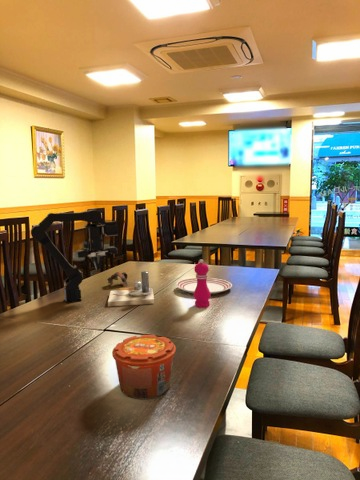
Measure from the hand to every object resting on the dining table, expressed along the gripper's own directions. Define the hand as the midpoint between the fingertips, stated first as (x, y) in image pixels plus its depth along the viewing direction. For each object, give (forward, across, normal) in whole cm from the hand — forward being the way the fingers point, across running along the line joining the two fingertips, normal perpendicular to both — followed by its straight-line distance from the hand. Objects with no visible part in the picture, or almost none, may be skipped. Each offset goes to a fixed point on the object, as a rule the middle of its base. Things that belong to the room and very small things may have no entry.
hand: (97, 270), depth 172 cm
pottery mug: (+13, -16, -15) cm, 26 cm away
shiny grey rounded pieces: (+11, -14, +14) cm, 22 cm away
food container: (+13, +17, +84) cm, 87 cm away
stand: (+13, -11, +12) cm, 21 cm away
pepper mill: (+13, -32, +39) cm, 52 cm away
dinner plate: (+14, -47, +19) cm, 52 cm away
